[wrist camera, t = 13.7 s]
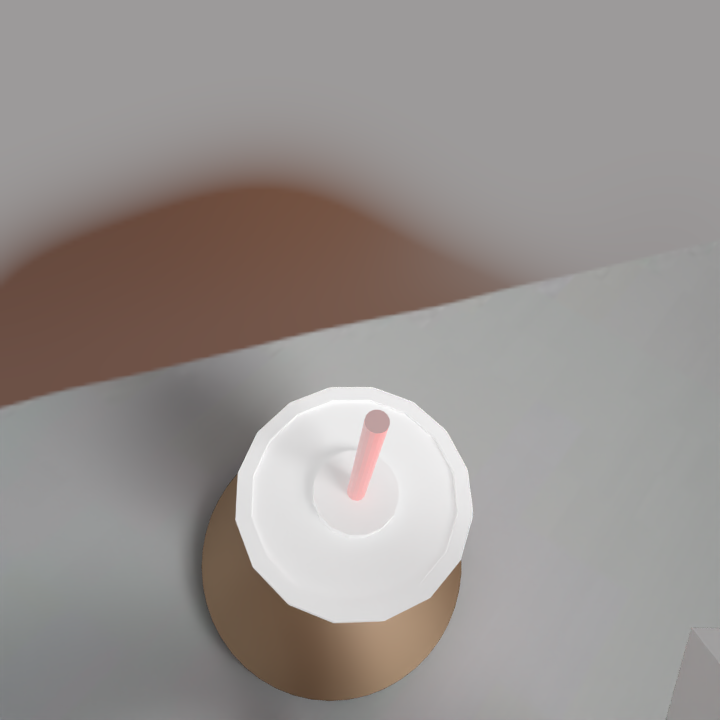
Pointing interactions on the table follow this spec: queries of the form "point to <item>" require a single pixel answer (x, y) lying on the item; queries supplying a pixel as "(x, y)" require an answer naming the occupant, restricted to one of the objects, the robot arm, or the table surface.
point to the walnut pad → (310, 625)
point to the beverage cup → (353, 504)
